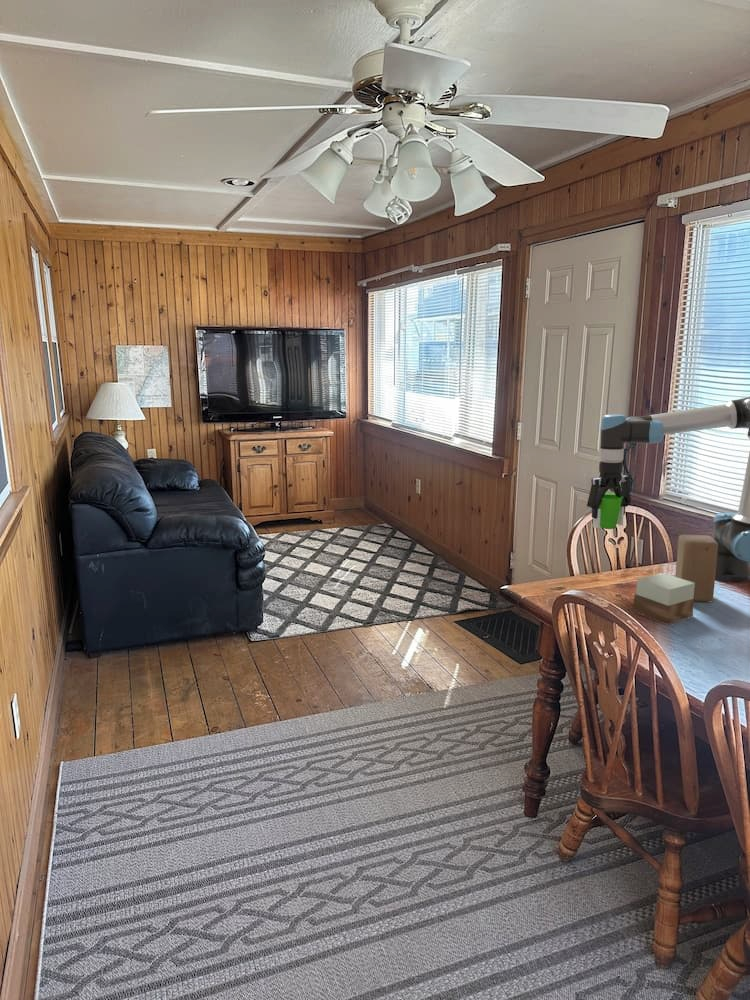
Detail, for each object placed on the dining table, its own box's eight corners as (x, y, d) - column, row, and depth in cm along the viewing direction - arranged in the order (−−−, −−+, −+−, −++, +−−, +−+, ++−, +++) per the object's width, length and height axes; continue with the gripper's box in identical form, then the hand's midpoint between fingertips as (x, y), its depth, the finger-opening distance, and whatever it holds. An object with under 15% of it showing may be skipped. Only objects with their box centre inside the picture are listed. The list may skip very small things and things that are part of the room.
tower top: (660, 587, 214) (661, 572, 213) (693, 598, 205) (694, 582, 204) (636, 594, 209) (637, 578, 208) (668, 605, 199) (669, 589, 198)
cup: (623, 531, 227) (625, 498, 225) (595, 530, 229) (597, 498, 226) (619, 524, 236) (621, 493, 233) (592, 524, 237) (593, 493, 235)
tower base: (658, 605, 216) (659, 587, 215) (692, 617, 206) (694, 598, 205) (633, 612, 210) (634, 594, 209) (666, 625, 200) (668, 606, 199)
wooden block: (713, 603, 217) (719, 542, 212) (680, 601, 219) (685, 541, 214) (705, 592, 226) (710, 534, 222) (673, 591, 228) (678, 533, 224)
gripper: (629, 457, 235) (625, 520, 239) (577, 461, 227) (574, 526, 232) (645, 460, 228) (641, 525, 232) (591, 464, 220) (588, 531, 225)
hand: (607, 525), depth 232 cm, fingers closed on cup, 9 cm apart
